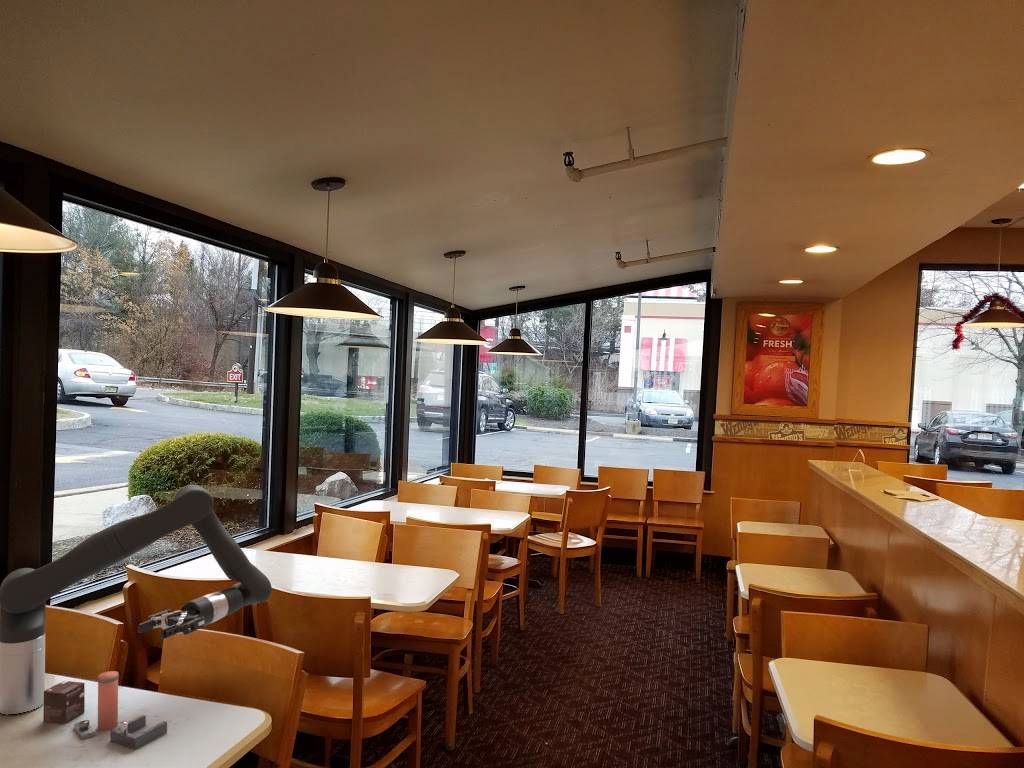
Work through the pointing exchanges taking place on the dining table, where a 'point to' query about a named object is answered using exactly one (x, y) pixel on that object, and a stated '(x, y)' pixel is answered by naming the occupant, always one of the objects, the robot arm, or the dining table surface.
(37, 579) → the robot arm
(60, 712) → the box
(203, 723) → the dining table surface
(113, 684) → the post
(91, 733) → the plate
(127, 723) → the bracket
